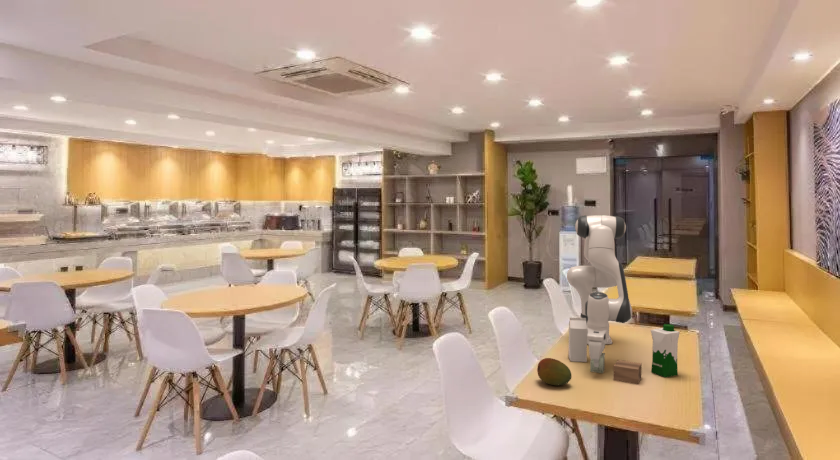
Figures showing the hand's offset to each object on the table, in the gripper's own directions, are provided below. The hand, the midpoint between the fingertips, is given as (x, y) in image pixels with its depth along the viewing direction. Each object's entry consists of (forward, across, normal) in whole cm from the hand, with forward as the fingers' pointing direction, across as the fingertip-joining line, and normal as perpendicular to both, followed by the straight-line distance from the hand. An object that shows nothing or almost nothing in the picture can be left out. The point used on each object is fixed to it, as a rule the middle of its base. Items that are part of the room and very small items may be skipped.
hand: (597, 364), depth 204 cm
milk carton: (+3, -12, -10) cm, 16 cm away
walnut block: (+3, +5, +12) cm, 13 cm away
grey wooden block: (+3, 0, 0) cm, 3 cm away
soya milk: (+3, -8, +25) cm, 26 cm away
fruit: (+3, +24, -13) cm, 27 cm away
